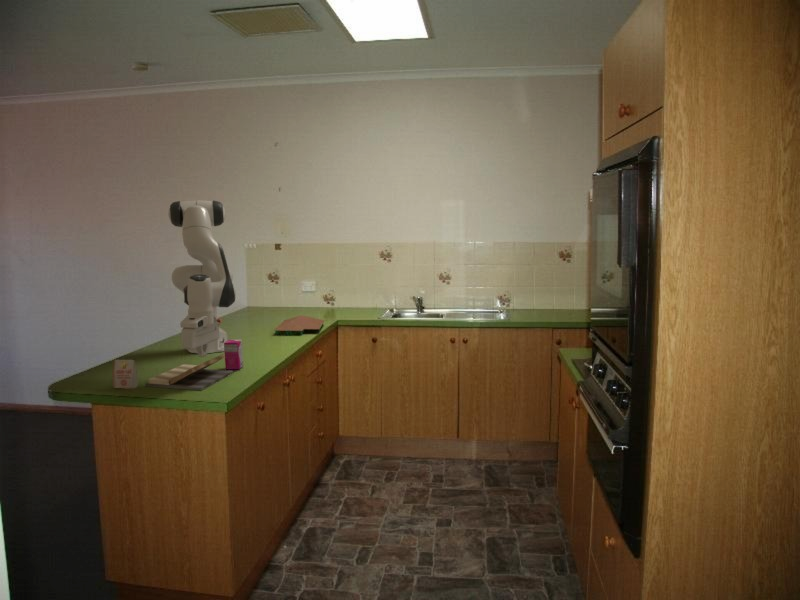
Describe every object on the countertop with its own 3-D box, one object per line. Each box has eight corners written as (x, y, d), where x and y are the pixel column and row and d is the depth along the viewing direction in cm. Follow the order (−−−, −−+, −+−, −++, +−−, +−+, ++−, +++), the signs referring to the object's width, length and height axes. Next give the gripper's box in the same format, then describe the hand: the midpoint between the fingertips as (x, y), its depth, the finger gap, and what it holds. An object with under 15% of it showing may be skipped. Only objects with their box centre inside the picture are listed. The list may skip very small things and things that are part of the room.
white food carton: (118, 385, 202) (117, 358, 200) (137, 385, 202) (136, 358, 200) (113, 388, 198) (112, 361, 197) (133, 388, 198) (131, 361, 197)
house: (325, 325, 324) (325, 311, 323) (318, 336, 292) (318, 321, 290) (285, 324, 324) (285, 310, 323) (273, 336, 291) (273, 321, 290)
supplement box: (229, 366, 229) (228, 339, 227) (243, 367, 229) (243, 339, 227) (224, 370, 223) (223, 342, 222) (239, 370, 223) (238, 342, 222)
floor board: (182, 369, 223) (182, 363, 223) (233, 373, 219) (233, 366, 219) (145, 386, 201) (145, 379, 201) (201, 390, 197) (201, 383, 196)
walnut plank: (204, 368, 221) (202, 365, 221) (224, 357, 218) (222, 354, 218) (171, 384, 199) (169, 380, 199) (193, 372, 197) (191, 368, 197)
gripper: (208, 314, 217) (209, 349, 218) (177, 323, 197) (179, 362, 199) (223, 315, 215) (224, 350, 217) (193, 324, 195) (195, 363, 197)
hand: (202, 356), depth 208 cm, fingers closed
